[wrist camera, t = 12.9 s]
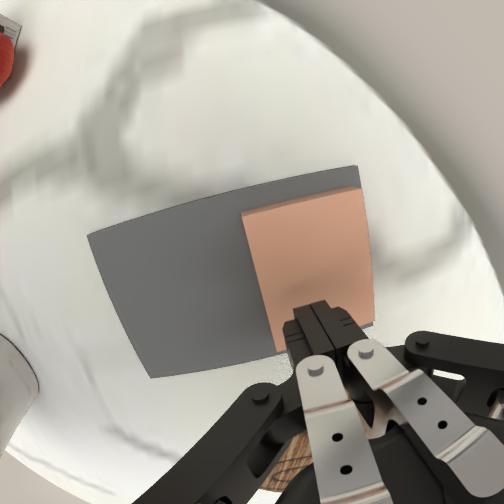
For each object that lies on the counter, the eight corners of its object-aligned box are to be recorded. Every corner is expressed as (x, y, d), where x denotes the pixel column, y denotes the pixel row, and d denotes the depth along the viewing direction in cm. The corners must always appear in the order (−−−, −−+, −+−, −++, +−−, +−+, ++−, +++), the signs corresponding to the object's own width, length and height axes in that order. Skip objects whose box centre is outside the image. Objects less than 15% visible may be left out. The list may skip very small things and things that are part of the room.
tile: (241, 217, 14) (362, 188, 15) (240, 212, 16) (349, 186, 16) (276, 352, 17) (374, 321, 17) (272, 337, 19) (363, 309, 19)
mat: (152, 373, 20) (150, 378, 19) (90, 233, 16) (86, 235, 16) (369, 321, 20) (373, 325, 19) (353, 165, 16) (357, 165, 16)
